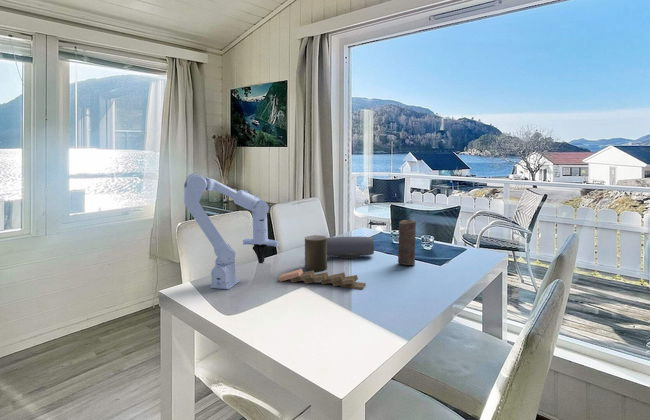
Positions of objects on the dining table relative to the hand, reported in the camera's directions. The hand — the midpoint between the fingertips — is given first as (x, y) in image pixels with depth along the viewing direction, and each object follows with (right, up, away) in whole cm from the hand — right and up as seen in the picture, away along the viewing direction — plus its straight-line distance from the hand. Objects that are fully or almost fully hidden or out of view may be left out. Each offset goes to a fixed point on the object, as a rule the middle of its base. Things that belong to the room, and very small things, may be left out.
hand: (261, 262), depth 151 cm
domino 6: (+32, -7, -7) cm, 34 cm away
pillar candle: (+22, -4, +13) cm, 26 cm away
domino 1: (+8, -6, -1) cm, 10 cm away
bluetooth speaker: (+37, -2, +29) cm, 47 cm away
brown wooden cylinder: (+62, -3, +16) cm, 64 cm away
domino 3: (+18, -6, -4) cm, 20 cm away
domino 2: (+13, -6, -2) cm, 14 cm away
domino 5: (+29, -7, -7) cm, 31 cm away
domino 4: (+25, -6, -5) cm, 26 cm away
